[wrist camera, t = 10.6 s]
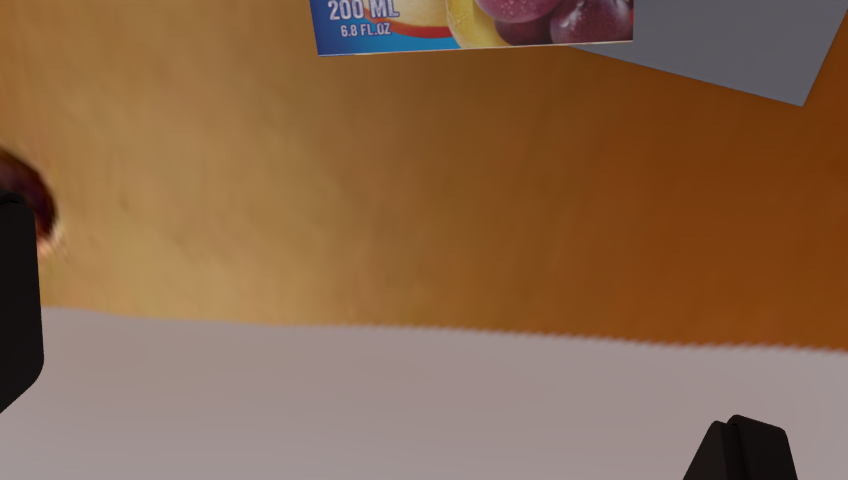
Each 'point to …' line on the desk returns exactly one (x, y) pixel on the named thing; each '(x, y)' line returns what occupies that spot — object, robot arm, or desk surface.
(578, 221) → the desk surface
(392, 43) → the juice carton
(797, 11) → the mat
